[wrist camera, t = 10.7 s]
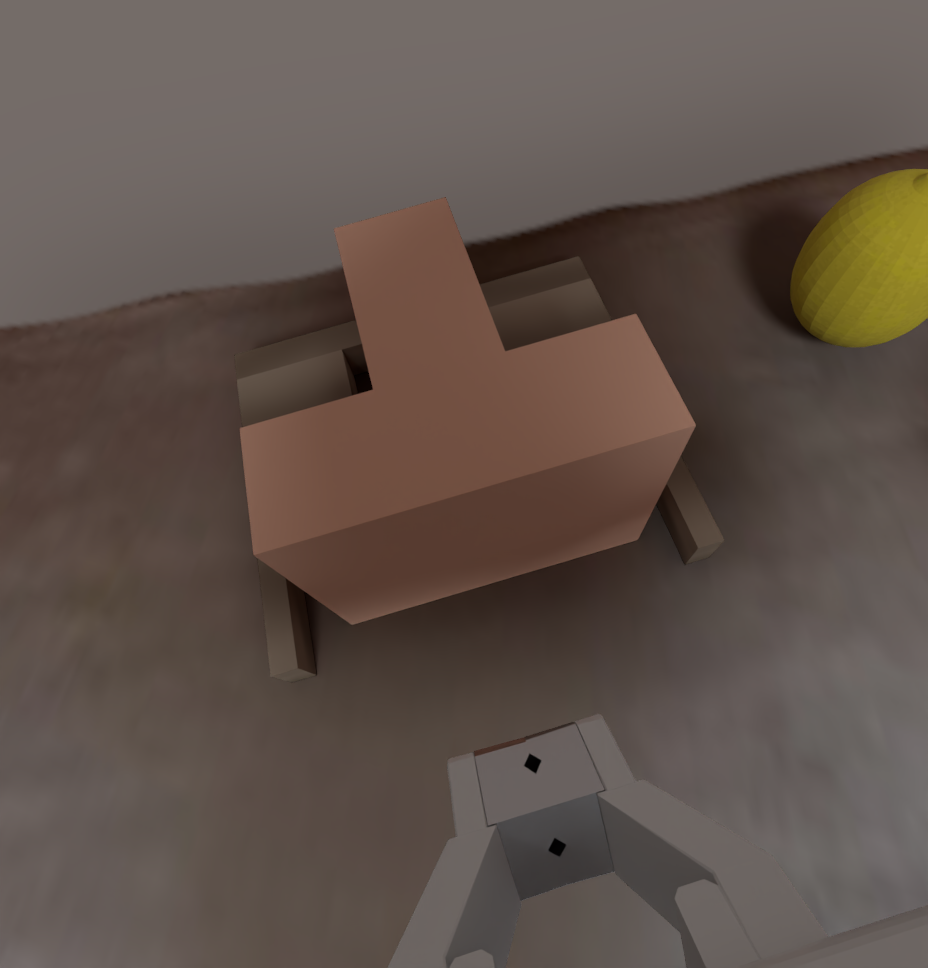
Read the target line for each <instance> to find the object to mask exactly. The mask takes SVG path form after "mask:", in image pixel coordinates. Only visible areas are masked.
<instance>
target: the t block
mask: <svg viewBox="0 0 928 968" xmlns="http://www.w3.org/2000/svg"><path fill="white" fill-rule="evenodd" d="M334 232H335V236H336V240H337V244H338V248H339V252H340V256H341V260H342V264H343V269H344V273H345V277H346V281H347V285H348V289H349V293H350V297H351V301H352V305H353V310H354V314H355V318H356V322H357V326H358V330H359V334H360V338H361V342H362V346H363V351H364V355H365V359H366V363H367V367H368V371H369V375H370V379H371V383H372V387H373V390H370V391H367V392H363V393H360V394H356V395H353V396H349V397H346V398H342V399H339V400H335V401H332V402H329V403H325V404H322V405H318V406H315V407H311V408H308V409H304V410H301V411H297V412H294V413H290V414H287V415H283V416H280V417H277V418H273V419H270V420H266V421H263V422H259V423H256V424H252V425H249V426H245V427H242V428H240V437H241V446H242V455H243V464H244V473H245V482H246V491H247V500H248V509H249V518H250V527H251V536H252V546H253V555H254V556H255V557H257V558H258V559H260V560H261V561H262V562H264V563H265V564H267V565H268V566H269V567H271V568H272V569H274V570H275V571H276V572H278V573H279V574H281V575H282V576H284V577H285V578H286V579H288V580H289V581H291V582H292V583H293V584H295V585H296V586H298V587H299V588H300V589H302V590H303V591H305V592H306V593H308V594H309V595H310V596H312V597H313V598H315V599H316V600H317V601H319V602H320V603H322V604H323V605H324V606H326V607H327V608H329V609H330V610H331V611H333V612H334V613H336V614H337V615H339V616H340V617H341V618H343V619H344V620H346V621H347V622H348V623H350V624H351V625H354V624H357V623H360V622H364V621H367V620H370V619H374V618H377V617H380V616H384V615H387V614H391V613H394V612H397V611H401V610H404V609H407V608H411V607H414V606H417V605H421V604H424V603H428V602H431V601H434V600H438V599H441V598H444V597H448V596H451V595H454V594H458V593H461V592H465V591H468V590H471V589H475V588H478V587H481V586H485V585H488V584H491V583H495V582H498V581H501V580H505V579H508V578H512V577H515V576H518V575H522V574H525V573H528V572H532V571H535V570H538V569H542V568H545V567H549V566H552V565H555V564H559V563H562V562H565V561H569V560H572V559H575V558H579V557H582V556H586V555H589V554H592V553H596V552H599V551H602V550H606V549H609V548H612V547H616V546H619V545H623V544H626V543H629V542H633V541H636V540H638V538H639V537H640V535H641V533H642V531H643V529H644V527H645V525H646V523H647V521H648V519H649V517H650V515H651V513H652V511H653V509H654V507H655V505H656V503H657V501H658V499H659V497H660V495H661V493H662V491H663V489H664V487H665V485H666V484H667V482H668V480H669V478H670V476H671V474H672V472H673V470H674V468H675V466H676V464H677V462H678V460H679V458H680V456H681V454H682V452H683V450H684V448H685V446H686V444H687V442H688V440H689V438H690V436H691V434H692V432H693V431H694V429H695V427H696V424H695V422H694V420H693V418H692V417H691V415H690V413H689V411H688V409H687V407H686V405H685V404H684V402H683V400H682V398H681V396H680V394H679V392H678V391H677V389H676V387H675V385H674V383H673V381H672V379H671V378H670V376H669V374H668V372H667V370H666V368H665V366H664V365H663V363H662V361H661V359H660V357H659V355H658V353H657V352H656V350H655V348H654V346H653V344H652V342H651V340H650V339H649V337H648V335H647V333H646V331H645V329H644V327H643V326H642V324H641V322H640V320H639V318H638V316H637V314H633V315H630V316H626V317H623V318H619V319H616V320H613V321H609V322H606V323H602V324H599V325H595V326H592V327H588V328H585V329H581V330H578V331H574V332H571V333H568V334H564V335H561V336H557V337H554V338H550V339H547V340H543V341H540V342H536V343H533V344H529V345H526V346H522V347H519V348H516V349H512V350H509V351H505V350H504V347H503V344H502V342H501V339H500V337H499V334H498V331H497V329H496V326H495V324H494V321H493V318H492V316H491V313H490V311H489V308H488V306H487V303H486V300H485V298H484V295H483V293H482V290H481V287H480V285H479V282H478V280H477V277H476V274H475V272H474V269H473V267H472V264H471V261H470V259H469V256H468V254H467V251H466V249H465V246H464V243H463V241H462V238H461V236H460V233H459V231H458V228H457V225H456V223H455V220H454V217H453V215H452V212H451V210H450V207H449V205H448V202H447V199H446V197H444V198H441V199H437V200H434V201H430V202H426V203H423V204H420V205H416V206H412V207H409V208H405V209H402V210H398V211H395V212H391V213H387V214H384V215H380V216H377V217H373V218H370V219H366V220H363V221H359V222H356V223H352V224H349V225H345V226H341V227H338V228H334Z"/></svg>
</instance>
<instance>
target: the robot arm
mask: <svg viewBox="0 0 928 968" xmlns="http://www.w3.org/2000/svg"><path fill="white" fill-rule="evenodd" d="M447 769H448V777H449V785H450V793H451V801H452V809H453V816H454V824H455V832H456V837H454V838H451V839H448V841H447V843H446V845H445V847H444V849H443V852H442V854H441V856H440V858H439V860H438V862H437V864H436V866H435V868H434V871H433V873H432V875H431V877H430V879H429V881H428V883H427V885H426V888H425V890H424V892H423V894H422V896H421V898H420V900H419V902H418V905H417V907H416V909H415V911H414V913H413V915H412V917H411V919H410V921H409V924H408V926H407V928H406V930H405V932H404V934H403V936H402V938H401V941H400V943H399V945H398V947H397V949H396V951H395V953H394V955H393V957H392V960H391V962H390V964H389V966H388V968H505V967H506V963H507V959H508V955H509V951H510V947H511V943H512V939H513V935H514V931H515V928H516V924H517V920H518V916H519V912H520V908H521V902H520V901H522V900H525V899H527V898H530V897H533V896H536V895H539V894H542V893H545V892H548V891H550V890H553V889H556V888H559V887H562V886H565V885H568V884H572V883H575V882H579V881H582V880H586V879H589V878H593V877H597V876H600V875H604V874H607V873H611V872H615V874H616V875H617V876H618V877H619V878H620V879H621V880H622V881H624V882H625V883H626V884H627V885H628V886H629V887H630V888H631V889H632V890H634V891H635V892H636V893H637V894H638V895H639V896H640V897H641V898H642V899H644V900H645V901H646V902H647V903H648V904H649V905H650V906H651V907H652V908H653V909H655V910H656V911H657V912H658V913H659V914H660V915H661V916H662V917H663V918H665V919H666V920H667V921H668V922H669V923H670V924H671V925H672V926H673V927H675V928H676V929H677V930H678V931H679V932H680V933H681V939H682V945H683V950H684V956H685V962H686V968H928V905H927V906H924V907H921V908H917V909H914V910H911V911H908V912H905V913H902V914H899V915H896V916H893V917H890V918H886V919H883V920H880V921H877V922H874V923H871V924H868V925H865V926H862V927H859V928H855V929H852V930H849V931H846V932H843V933H840V934H837V935H834V936H831V937H828V936H827V934H826V933H825V931H824V930H823V928H822V927H821V925H820V924H819V923H818V921H817V920H816V918H815V917H814V915H813V914H812V912H811V911H810V909H809V908H808V907H807V905H806V904H805V902H804V901H803V899H802V898H801V896H800V895H799V893H798V892H797V891H796V889H795V888H794V886H793V885H792V883H791V882H790V880H789V879H788V877H787V876H786V875H785V873H784V872H783V870H782V869H781V867H780V866H779V864H778V863H777V861H776V860H775V859H774V857H773V856H772V855H771V854H769V853H767V852H766V851H764V850H762V849H761V848H759V847H757V846H756V845H754V844H752V843H751V842H749V841H747V840H745V839H744V838H742V837H740V836H739V835H737V834H735V833H734V832H732V831H730V830H729V829H727V828H725V827H724V826H722V825H720V824H719V823H717V822H715V821H714V820H712V819H710V818H709V817H707V816H705V815H703V814H702V813H700V812H698V811H697V810H695V809H693V808H692V807H690V806H688V805H687V804H685V803H683V802H682V801H680V800H678V799H677V798H675V797H673V796H672V795H670V794H668V793H666V792H665V791H663V790H661V789H660V788H658V787H656V786H655V785H653V784H651V783H650V782H648V781H646V780H645V779H644V780H640V781H637V782H636V780H635V778H634V776H633V774H632V772H631V770H630V768H629V766H628V764H627V762H626V760H625V758H624V756H623V754H622V752H621V751H620V749H619V747H618V745H617V743H616V741H615V739H614V737H613V735H612V733H611V731H610V729H609V727H608V725H607V723H606V721H605V720H604V718H603V716H602V715H600V714H596V715H593V716H590V717H586V718H583V719H580V720H577V721H575V722H571V723H568V724H565V725H561V726H558V727H555V728H552V729H549V730H545V731H542V732H539V733H536V734H533V735H529V736H526V737H524V738H520V739H517V740H513V741H509V742H506V743H502V744H499V745H495V746H491V747H488V748H484V749H480V750H477V751H474V752H472V753H468V754H464V755H461V756H457V757H453V758H449V759H448V763H447Z"/></svg>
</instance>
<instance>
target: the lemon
mask: <svg viewBox="0 0 928 968" xmlns="http://www.w3.org/2000/svg"><path fill="white" fill-rule="evenodd" d="M790 298H791V302H792V306H793V310H794V313H795V315H796V317H797V318H798V320H799V321H800V323H801V325H802V326H803V327H804V328H805V329H806V330H807V331H808V332H809V333H810V334H812V335H813V336H815V337H817V338H818V339H820V340H822V341H824V342H827V343H830V344H833V345H838V346H843V347H866V346H872V345H877V344H881V343H885V342H887V341H890V340H892V339H894V338H896V337H899V336H901V335H903V334H905V333H907V332H909V331H911V330H912V329H914V328H915V327H917V326H918V325H919V324H921V323H922V322H923V321H924V320H925V319H927V318H928V169H907V170H899V171H894V172H890V173H887V174H884V175H880V176H878V177H875V178H872V179H870V180H869V181H867V182H865V183H863V184H861V185H860V186H858V187H856V188H854V189H853V190H851V191H850V192H849V193H847V194H846V195H845V196H844V197H843V198H842V199H841V200H839V201H838V202H837V203H836V204H835V205H834V206H833V207H832V208H831V209H830V210H829V211H828V212H827V214H826V215H825V216H824V217H823V218H822V219H821V220H820V221H819V223H818V224H817V225H816V226H815V228H814V229H813V230H812V232H811V233H810V235H809V236H808V238H807V240H806V241H805V243H804V245H803V247H802V249H801V251H800V253H799V256H798V258H797V260H796V262H795V265H794V268H793V272H792V277H791V287H790Z"/></svg>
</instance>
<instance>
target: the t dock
mask: <svg viewBox="0 0 928 968" xmlns="http://www.w3.org/2000/svg"><path fill="white" fill-rule="evenodd" d="M480 287H481V290H482V293H483V295H484V298H485V300H486V303H487V306H488V308H489V311H490V313H491V316H492V318H493V321H494V324H495V326H496V329H497V331H498V334H499V337H500V339H501V342H502V344H503V347H504V350H505V351H509V350H512V349H516V348H519V347H522V346H526V345H529V344H533V343H536V342H540V341H543V340H547V339H550V338H554V337H557V336H561V335H564V334H568V333H571V332H574V331H578V330H581V329H585V328H588V327H592V326H595V325H599V324H602V323H606V322H609V321H612V319H611V317H610V315H609V313H608V311H607V310H606V308H605V306H604V304H603V302H602V300H601V298H600V296H599V294H598V292H597V290H596V288H595V286H594V284H593V282H592V280H591V278H590V276H589V274H588V272H587V270H586V268H585V267H584V265H583V263H582V261H581V259H580V257H579V256H577V257H574V258H570V259H567V260H563V261H560V262H556V263H553V264H549V265H546V266H542V267H539V268H535V269H532V270H528V271H525V272H521V273H518V274H514V275H511V276H508V277H504V278H501V279H497V280H494V281H490V282H487V283H483V284H480ZM234 360H235V368H236V377H237V386H238V395H239V403H240V412H241V421H242V427H245V426H249V425H252V424H256V423H259V422H263V421H266V420H270V419H273V418H277V417H280V416H283V415H287V414H290V413H294V412H297V411H301V410H304V409H308V408H311V407H315V406H318V405H322V404H325V403H329V402H332V401H335V400H339V399H342V398H346V397H349V396H353V395H356V394H358V391H357V387H356V382H355V378H354V375H357V374H361V373H364V372H368V367H367V363H366V359H365V355H364V351H363V346H362V342H361V338H360V334H359V330H358V326H357V322H356V320H354V321H350V322H347V323H343V324H340V325H336V326H333V327H329V328H326V329H323V330H319V331H316V332H312V333H309V334H305V335H302V336H298V337H295V338H291V339H288V340H284V341H281V342H277V343H274V344H270V345H267V346H263V347H260V348H256V349H253V350H249V351H246V352H242V353H239V354H235V355H234ZM656 504H657V506H658V508H659V511H660V513H661V515H662V517H663V519H664V521H665V523H666V525H667V528H668V530H669V532H670V534H671V536H672V538H673V540H674V543H675V545H676V547H677V549H678V551H679V553H680V555H681V558H682V560H683V562H684V564H689V563H692V562H695V561H699V560H702V559H705V558H709V557H710V556H711V555H712V554H713V553H714V551H715V550H716V549H717V548H718V547H719V546H720V545H721V544H722V543H723V542H724V541H725V540H724V538H723V536H722V534H721V532H720V530H719V528H718V526H717V525H716V523H715V521H714V519H713V517H712V515H711V513H710V511H709V509H708V507H707V505H706V503H705V501H704V499H703V497H702V495H701V493H700V491H699V489H698V487H697V485H696V483H695V482H694V480H693V478H692V476H691V474H690V472H689V470H688V468H687V466H686V464H685V462H684V460H683V458H682V456H680V458H679V460H678V462H677V464H676V466H675V468H674V470H673V472H672V474H671V476H670V478H669V480H668V482H667V484H666V485H665V487H664V489H663V491H662V493H661V495H660V497H659V499H658V501H657V503H656ZM257 561H258V570H259V579H260V587H261V596H262V605H263V614H264V623H265V631H266V640H267V649H268V658H269V666H270V675H271V677H274V678H278V679H281V680H285V681H288V682H295V681H299V680H302V679H305V678H309V677H312V676H315V675H317V673H316V667H315V660H314V653H313V647H312V640H311V633H310V627H309V620H308V613H307V606H306V600H305V593H304V591H303V590H302V589H300V588H299V587H298V586H296V585H295V584H293V583H292V582H291V581H289V580H288V579H286V578H285V577H284V576H282V575H281V574H279V573H278V572H276V571H275V570H274V569H272V568H271V567H269V566H268V565H267V564H265V563H264V562H262V561H261V560H260V559H258V558H257Z"/></svg>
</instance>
